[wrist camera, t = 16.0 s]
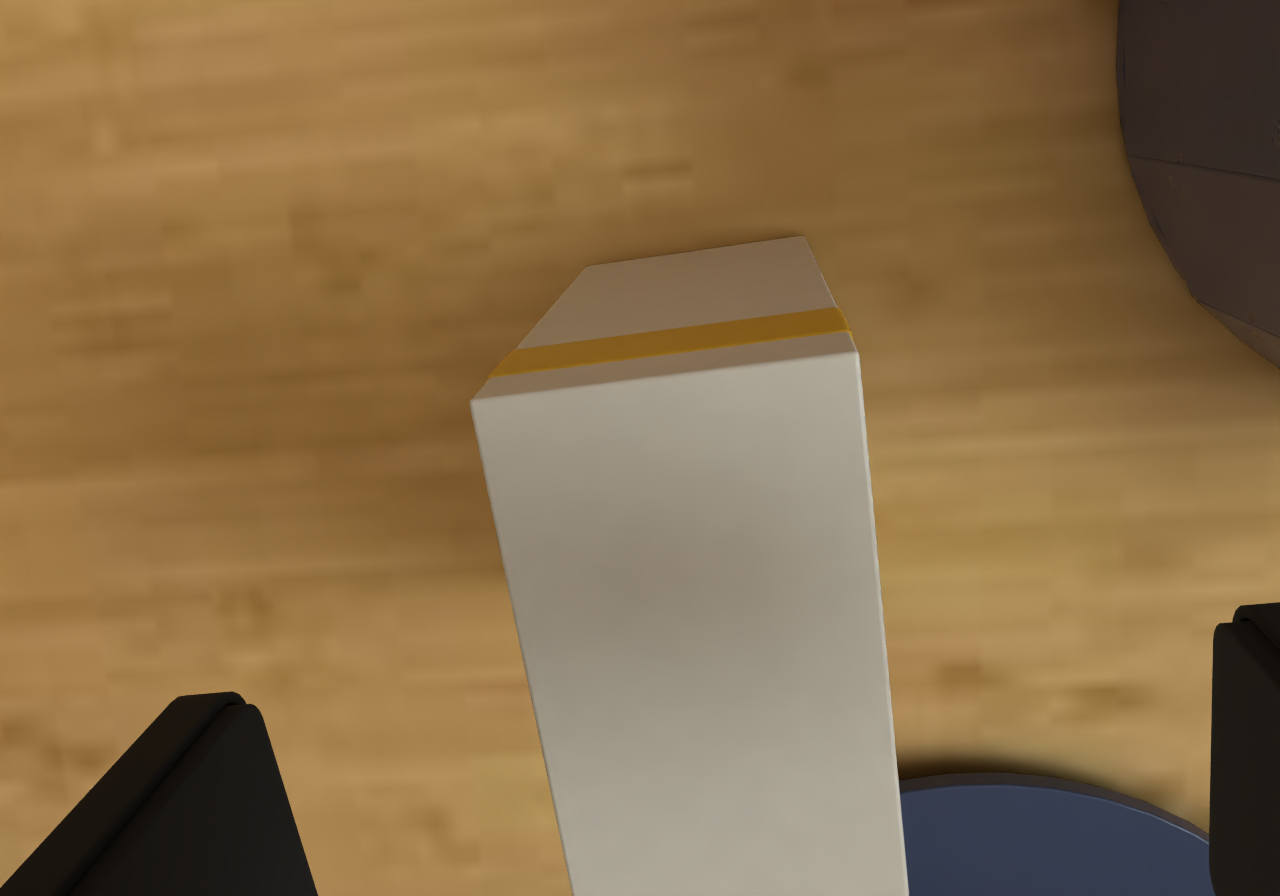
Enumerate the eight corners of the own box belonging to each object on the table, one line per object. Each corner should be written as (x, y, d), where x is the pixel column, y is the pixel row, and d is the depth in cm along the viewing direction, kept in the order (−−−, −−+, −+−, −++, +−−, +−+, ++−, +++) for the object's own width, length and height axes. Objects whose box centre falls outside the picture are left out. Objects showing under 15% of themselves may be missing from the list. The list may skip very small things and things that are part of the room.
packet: (638, 596, 24) (575, 924, 15) (582, 264, 22) (464, 398, 12) (842, 576, 23) (913, 903, 14) (806, 233, 21) (861, 347, 12)
